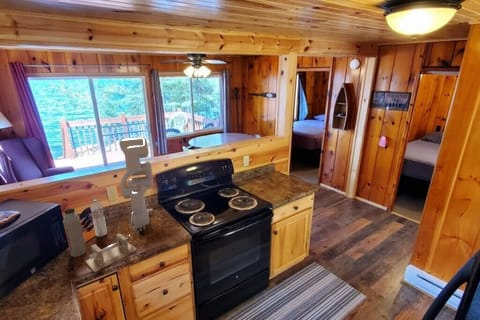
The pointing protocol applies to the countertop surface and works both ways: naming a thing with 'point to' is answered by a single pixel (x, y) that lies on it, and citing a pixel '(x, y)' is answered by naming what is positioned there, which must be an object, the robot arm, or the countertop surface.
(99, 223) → the water bottle
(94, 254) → the shaft
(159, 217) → the countertop surface
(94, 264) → the bracket
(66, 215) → the thermos bottle
